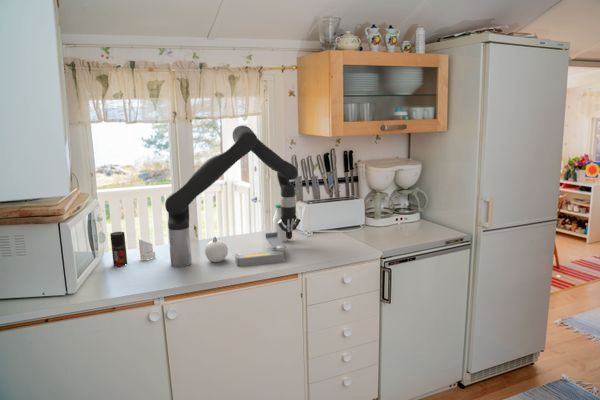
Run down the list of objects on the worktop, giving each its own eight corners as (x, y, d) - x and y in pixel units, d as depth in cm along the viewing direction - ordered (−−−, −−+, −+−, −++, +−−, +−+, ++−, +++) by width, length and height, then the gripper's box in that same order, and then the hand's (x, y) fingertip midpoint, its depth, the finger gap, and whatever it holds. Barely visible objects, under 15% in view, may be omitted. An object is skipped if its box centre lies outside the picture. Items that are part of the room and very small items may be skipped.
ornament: (210, 266, 204) (209, 241, 202) (202, 260, 213) (201, 235, 210) (231, 262, 210) (230, 237, 207) (223, 256, 218) (221, 232, 216)
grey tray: (237, 267, 203) (237, 257, 202) (232, 256, 218) (232, 247, 217) (285, 261, 209) (285, 252, 208) (277, 251, 224) (277, 242, 223)
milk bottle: (286, 243, 237) (285, 206, 233) (271, 242, 239) (270, 205, 235) (289, 239, 245) (288, 202, 241) (275, 238, 246) (274, 202, 242)
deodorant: (128, 262, 212) (125, 231, 209) (126, 266, 207) (122, 234, 204) (115, 263, 211) (111, 232, 208) (112, 267, 206) (108, 235, 203)
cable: (245, 264, 205) (245, 258, 205) (244, 261, 209) (244, 255, 208) (271, 261, 209) (271, 255, 208) (269, 259, 212) (269, 252, 211)
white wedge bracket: (131, 256, 212) (138, 239, 214) (149, 262, 220) (156, 245, 221) (135, 258, 210) (142, 240, 212) (153, 263, 217) (160, 246, 219)
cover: (275, 251, 209) (275, 245, 208) (265, 238, 230) (265, 233, 229) (288, 250, 211) (287, 244, 210) (277, 237, 231) (276, 232, 231)
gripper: (280, 208, 219) (281, 242, 222) (303, 204, 225) (304, 238, 229) (272, 205, 225) (274, 239, 229) (295, 202, 232) (296, 234, 235)
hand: (289, 238), depth 229 cm, fingers closed
